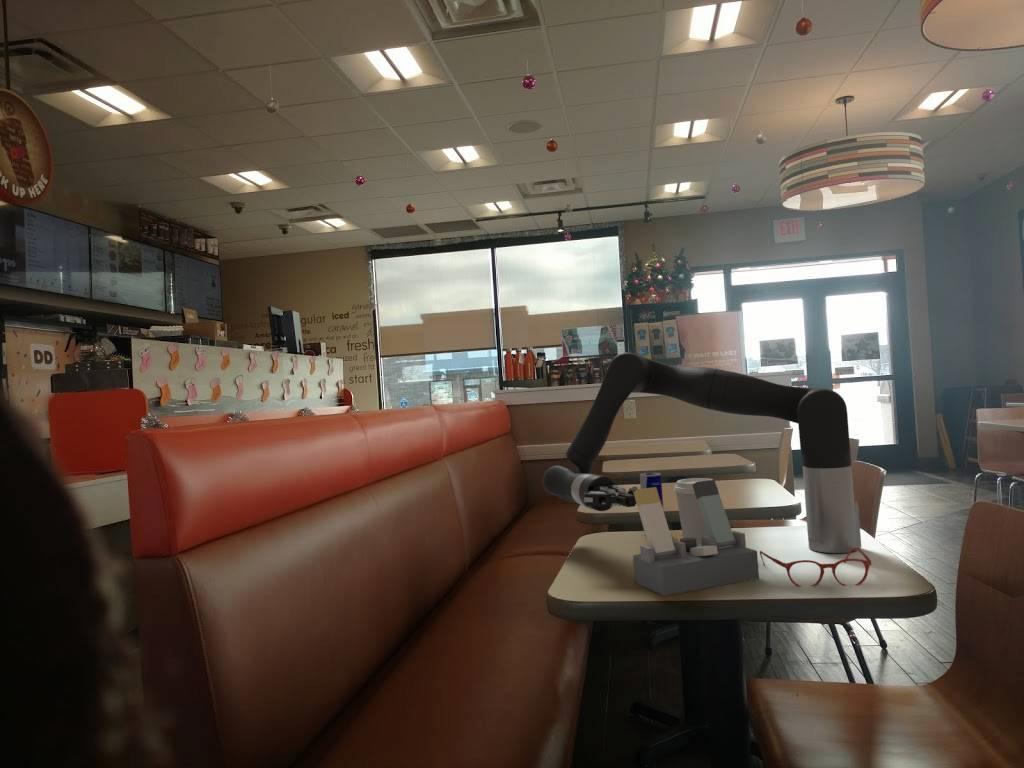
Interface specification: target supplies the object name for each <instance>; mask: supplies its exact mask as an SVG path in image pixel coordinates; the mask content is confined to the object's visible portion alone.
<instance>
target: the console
mask: <svg viewBox="0 0 1024 768" xmlns="http://www.w3.org/2000/svg"><path fill="white" fill-rule="evenodd" d="M732 533H733V536H734V538H735V539H736V545H731V546H725V547H719V548H717V546H716V543H715V538H713V537H709V536H706V535H705V536H701V544H700V545H697V542H696V539H695V538H683V537H682V538H680V539H678V540H677V539H675V540H673V539H672V541H673V544H674V547H675V548H676V550H677V554H676V555H671V556H665V557H659V558H654V548H652V547H649V545H646V544H643V545H639V548H640V549H639V551H640V554H639V553H638V554H633V555H632V559H633V560H632V562H633V573H634V583H636V584H638V585H640V586H642V587H643V588H646V589H649V590H650V591H652V590H653V592H655V593H657V594H658V595H660V596H663V597H665V596H671V595H678V594H681V593H688V592H692V591H699V590H703V589H708V588H713V587H718V586H719V587H720V586H725V585H730V584H735V583H740V582H746V581H747V582H748V581H751V580H756V579H759V578H760V576H759V575H760V574H759V573H760V572H759V571H760V570H759V559H758V558H759V557H758V551H757V550H756V549H752V548H750V547H747V545H746V543H747V541H746V533H744V532H740V531H736V530H732ZM687 591H688V592H687Z"/></svg>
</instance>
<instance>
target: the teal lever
mask: <svg viewBox="0 0 1024 768" xmlns="http://www.w3.org/2000/svg"><path fill="white" fill-rule="evenodd" d="M716 485H717V484H716V481H715V479H713V480H707V481H700V482H696V483H694V484H693V485H692V486H693V489H694V492H695V495H696V498H697V501H698V504H699V507H700V510H701V513H702V517H703V520H704V523H705V526H706V529H707V532H708V535H709V537H713V538H715V543H716V546H717V548H719V547H725V546H731V545H736V539H735V538H734V536H733V533H732V531H733V530H732V528H731V524H730V522H729V519H728V515H727V514H726V509H725V507H724V504H723V502H722V499H721V495H720V493H719V490H718V489H719V488H718V489H717V487H718V485H717V486H716Z"/></svg>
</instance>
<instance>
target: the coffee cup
mask: <svg viewBox="0 0 1024 768" xmlns="http://www.w3.org/2000/svg"><path fill="white" fill-rule="evenodd" d="M707 480H714V479H713V478H706V477H705V478H702V477H697V478H696V477H692V478H684V479H678V480H677V481H676V482H675V486H674V488H673V492H674V493H675V495H676V502H677V507H678V514H679V520H680V526H681V533H682V538H695V539H696V542H697V545H700V544H701V536H705V535H706V536H709V535H708V532H707V529H706V526H705V523H704V520H703V517H702V513H701V510H700V507H699V504H698V501H697V498H696V495H695V492H694V489H693V486H692V485H693V484H694V483H696V482H700V481H707ZM716 486H717V489H718V491H719V487H718V485H717V484H716Z"/></svg>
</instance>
